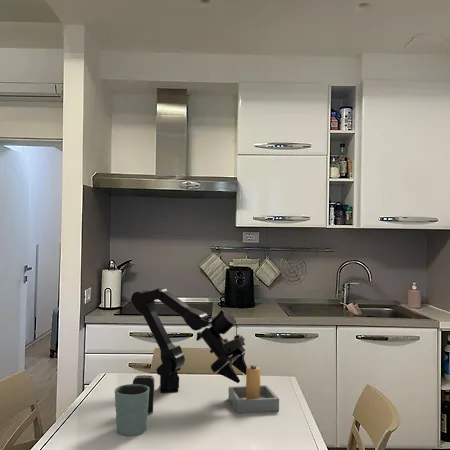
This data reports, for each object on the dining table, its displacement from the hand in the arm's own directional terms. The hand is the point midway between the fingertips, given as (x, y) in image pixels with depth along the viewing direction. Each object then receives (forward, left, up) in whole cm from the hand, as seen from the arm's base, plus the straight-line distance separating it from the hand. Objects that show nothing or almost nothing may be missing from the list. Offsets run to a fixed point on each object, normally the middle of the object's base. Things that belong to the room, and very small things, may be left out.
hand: (244, 378), depth 165 cm
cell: (+3, -2, -7) cm, 8 cm away
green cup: (-38, -17, -8) cm, 43 cm away
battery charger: (-34, -3, -8) cm, 35 cm away
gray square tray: (+3, -2, -8) cm, 9 cm away
